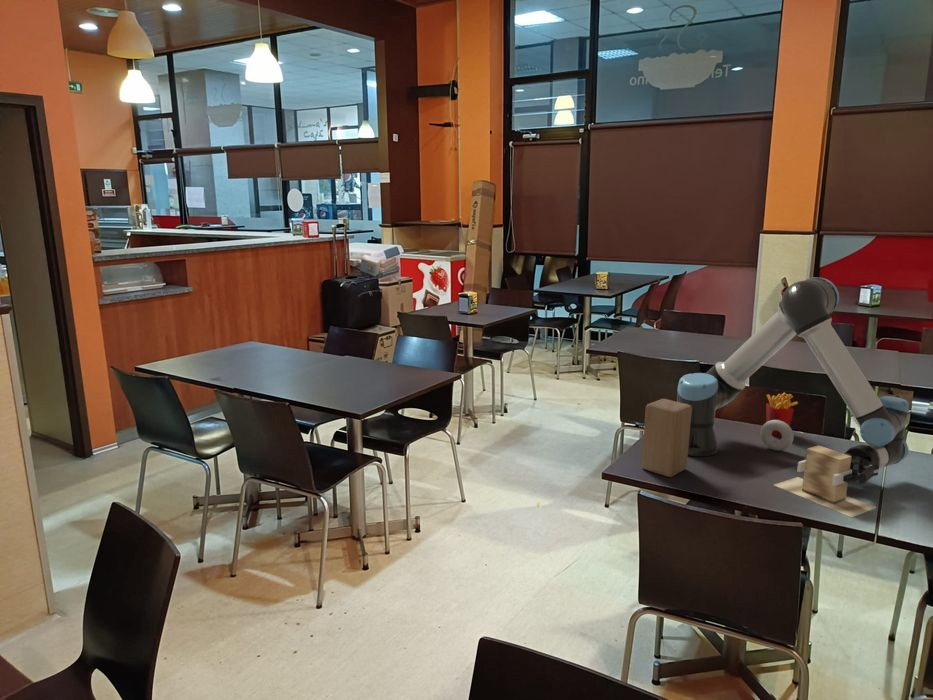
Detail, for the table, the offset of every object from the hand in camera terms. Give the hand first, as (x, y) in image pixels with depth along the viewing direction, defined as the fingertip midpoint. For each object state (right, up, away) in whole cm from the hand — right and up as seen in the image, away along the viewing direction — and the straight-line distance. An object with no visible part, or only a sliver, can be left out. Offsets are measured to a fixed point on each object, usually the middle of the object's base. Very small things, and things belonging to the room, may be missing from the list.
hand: (816, 473), depth 176 cm
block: (-32, -3, +24) cm, 41 cm away
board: (+4, -8, +4) cm, 10 cm away
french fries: (+16, +3, +54) cm, 56 cm away
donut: (+8, 0, +40) cm, 41 cm away
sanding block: (+4, -6, +4) cm, 8 cm away
